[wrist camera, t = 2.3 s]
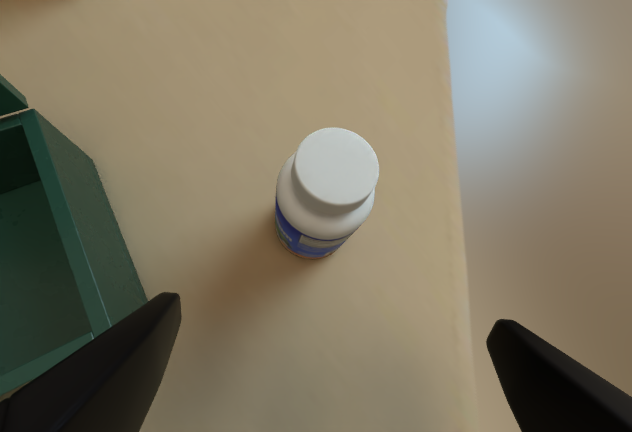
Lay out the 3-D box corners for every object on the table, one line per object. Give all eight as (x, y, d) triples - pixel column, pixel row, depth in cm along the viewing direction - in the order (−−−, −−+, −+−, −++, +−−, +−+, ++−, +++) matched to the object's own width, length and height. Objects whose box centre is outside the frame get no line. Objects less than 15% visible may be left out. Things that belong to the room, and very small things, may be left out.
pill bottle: (273, 192, 23) (273, 111, 14) (342, 190, 24) (384, 112, 15) (276, 263, 22) (278, 222, 12) (350, 258, 22) (403, 217, 13)
